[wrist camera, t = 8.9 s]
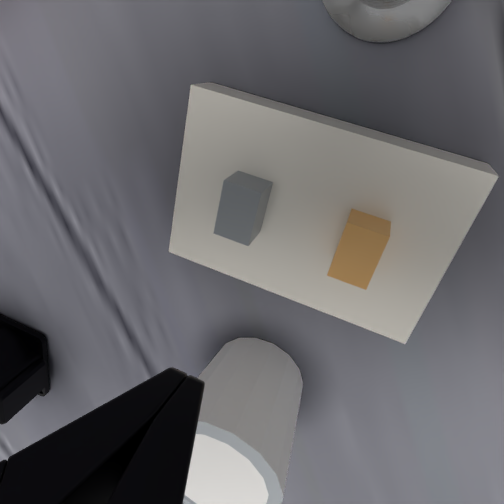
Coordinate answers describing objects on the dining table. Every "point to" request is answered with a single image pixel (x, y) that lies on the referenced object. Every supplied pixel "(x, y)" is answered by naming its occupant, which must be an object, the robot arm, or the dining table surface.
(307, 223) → the panel
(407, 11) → the post
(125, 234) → the dining table surface
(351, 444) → the dining table surface
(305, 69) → the dining table surface
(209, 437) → the grey cylinder
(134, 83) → the dining table surface
